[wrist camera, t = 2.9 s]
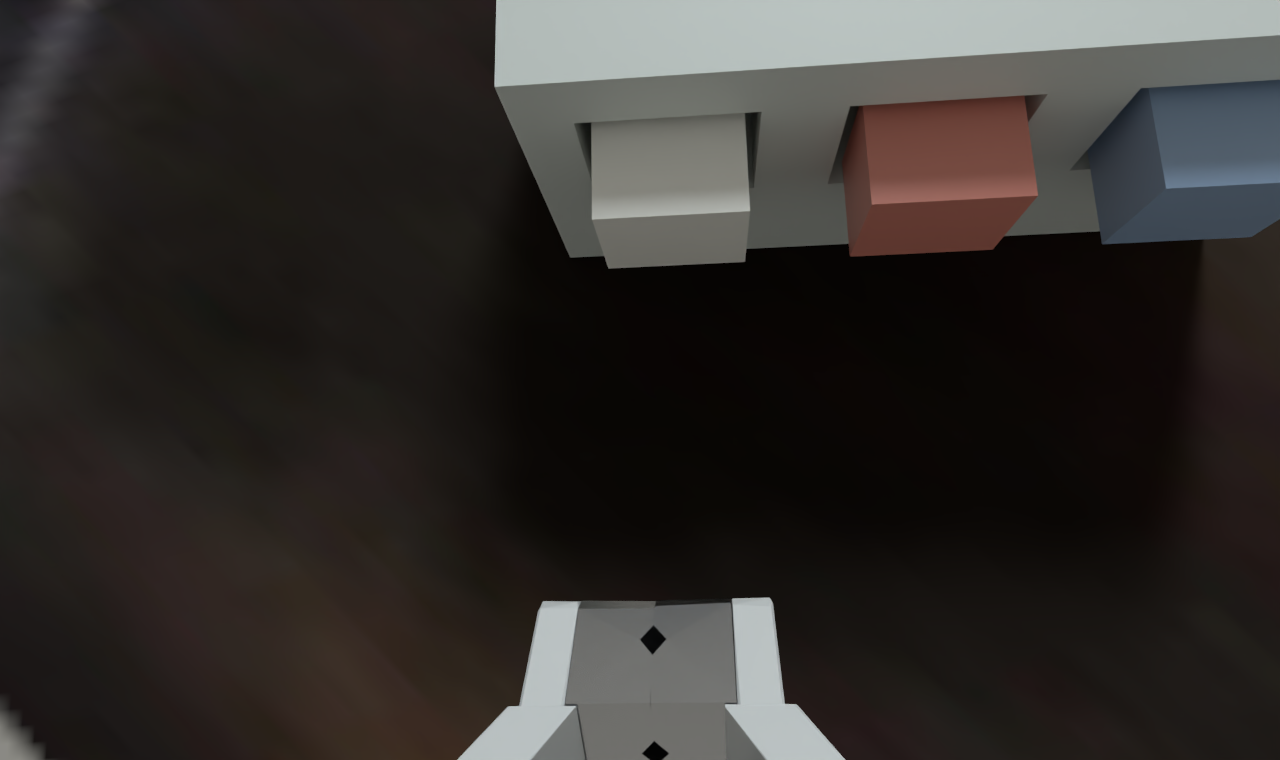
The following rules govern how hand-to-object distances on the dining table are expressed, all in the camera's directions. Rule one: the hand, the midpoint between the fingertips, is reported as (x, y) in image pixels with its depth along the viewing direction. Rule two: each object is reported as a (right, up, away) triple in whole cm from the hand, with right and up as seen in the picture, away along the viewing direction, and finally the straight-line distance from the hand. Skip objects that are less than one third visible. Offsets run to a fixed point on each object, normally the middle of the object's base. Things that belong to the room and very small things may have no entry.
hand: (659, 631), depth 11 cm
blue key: (+15, +9, +13) cm, 21 cm away
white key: (+1, +8, +14) cm, 16 cm away
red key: (+8, +8, +14) cm, 18 cm away
